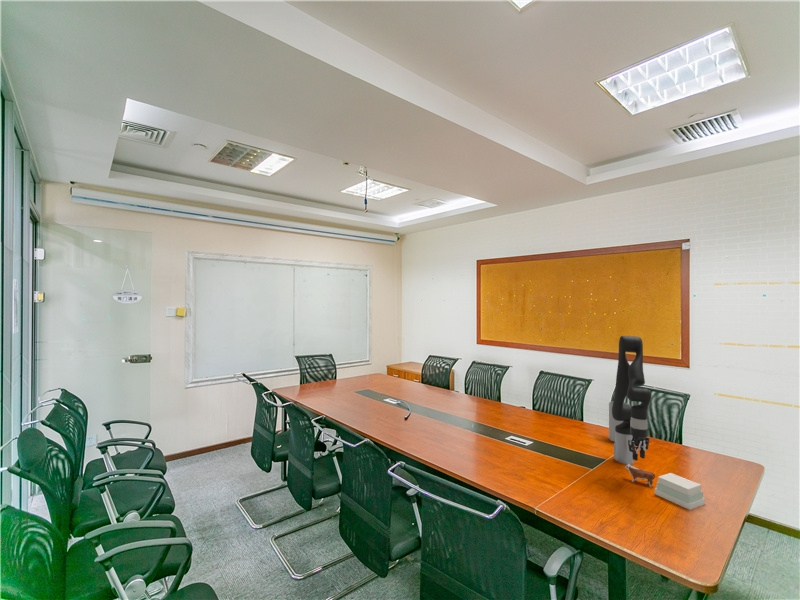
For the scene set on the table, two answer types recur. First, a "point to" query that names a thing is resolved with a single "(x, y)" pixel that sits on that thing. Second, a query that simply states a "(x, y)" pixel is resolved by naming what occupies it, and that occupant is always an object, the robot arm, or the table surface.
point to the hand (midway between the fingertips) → (638, 458)
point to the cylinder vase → (613, 422)
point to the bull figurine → (640, 474)
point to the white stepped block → (680, 491)
